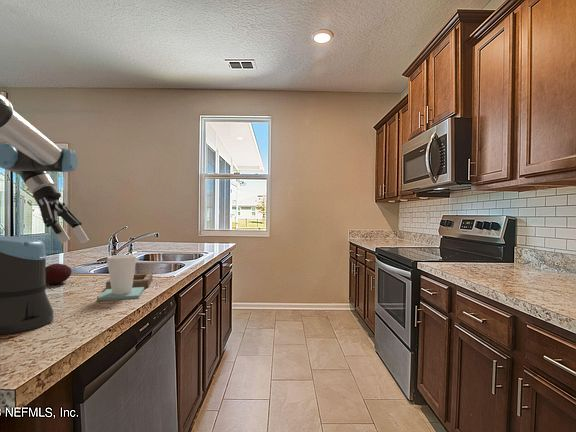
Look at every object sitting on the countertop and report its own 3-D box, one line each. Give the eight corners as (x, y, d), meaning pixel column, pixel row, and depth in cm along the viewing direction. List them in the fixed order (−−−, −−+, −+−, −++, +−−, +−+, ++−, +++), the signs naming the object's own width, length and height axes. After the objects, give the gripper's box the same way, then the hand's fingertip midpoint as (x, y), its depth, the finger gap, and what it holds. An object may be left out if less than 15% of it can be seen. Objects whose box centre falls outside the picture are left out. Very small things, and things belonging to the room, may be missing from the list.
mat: (138, 298, 114) (138, 295, 114) (97, 300, 110) (97, 297, 110) (144, 289, 126) (144, 286, 126) (106, 291, 122) (106, 289, 122)
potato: (48, 281, 140) (48, 261, 140) (77, 280, 142) (77, 261, 142) (33, 287, 129) (33, 266, 129) (65, 286, 131) (65, 265, 131)
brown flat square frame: (148, 287, 129) (148, 280, 129) (105, 289, 125) (105, 282, 125) (152, 280, 144) (152, 273, 144) (114, 281, 139) (114, 274, 139)
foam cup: (135, 294, 115) (134, 257, 115) (105, 296, 112) (105, 258, 112) (137, 288, 124) (137, 254, 124) (109, 290, 121) (109, 255, 121)
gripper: (53, 200, 126) (82, 247, 126) (8, 189, 101) (44, 247, 101) (72, 190, 127) (101, 236, 127) (32, 177, 102) (67, 235, 102)
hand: (76, 241), depth 114 cm, fingers open, 13 cm apart
